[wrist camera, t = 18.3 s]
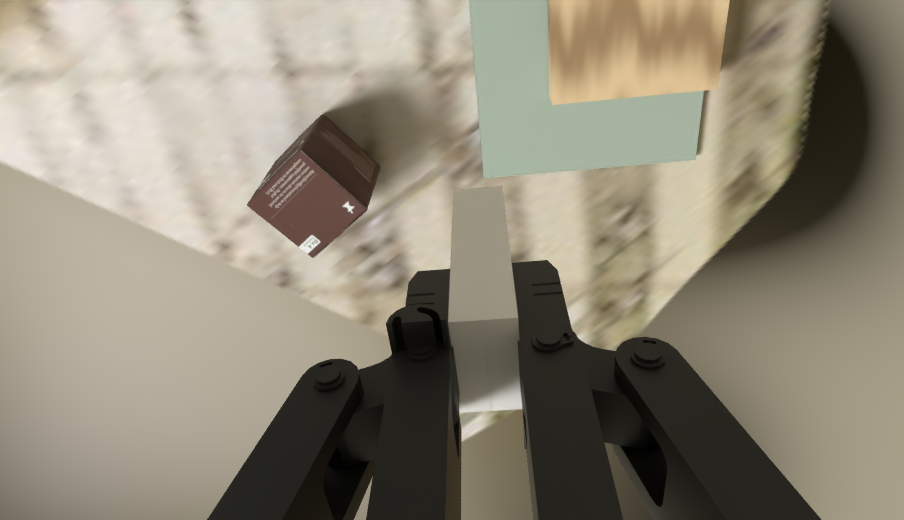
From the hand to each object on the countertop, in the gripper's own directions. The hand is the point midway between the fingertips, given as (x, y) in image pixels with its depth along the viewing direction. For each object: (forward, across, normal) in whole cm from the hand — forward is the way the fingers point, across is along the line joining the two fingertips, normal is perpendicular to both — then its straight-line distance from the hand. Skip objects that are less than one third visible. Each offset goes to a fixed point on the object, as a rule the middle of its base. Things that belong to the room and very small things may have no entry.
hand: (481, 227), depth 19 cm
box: (+27, -12, -8) cm, 30 cm away
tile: (+25, +5, 0) cm, 25 cm away
